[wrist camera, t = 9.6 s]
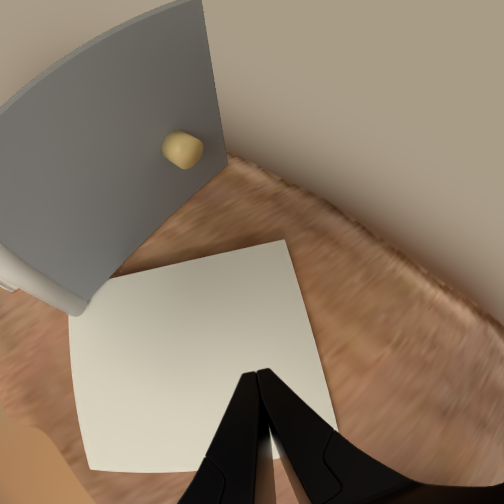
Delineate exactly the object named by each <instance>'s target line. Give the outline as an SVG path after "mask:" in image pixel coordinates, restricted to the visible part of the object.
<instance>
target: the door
mask: <svg viewBox="0 0 504 504" xmlns="http://www.w3.org/2000/svg"><path fill="white" fill-rule="evenodd" d="M227 165H228V161H227V155H226V149H225V143H224V137H223V131H222V125H221V119H220V113H219V106H218V101H217V95H216V88H215V82H214V76H213V70H212V63H211V57H210V51H209V45H208V39H207V32H206V26H205V19H204V12H203V6H202V0H176V1H173V2H171V3H168V4H165V5H163V6H160V7H158V8H155V9H153V10H150V11H148V12H146V13H143V14H141V15H139V16H137V17H134V18H132V19H130V20H128V21H126V22H124V23H122V24H120V25H118V26H116V27H114V28H112V29H110V30H108V31H106V32H104V33H102V34H101V35H99V36H97V37H95V38H94V39H92V40H90V41H88V42H87V43H85V44H84V45H82V46H80V47H79V48H77V49H75V50H74V51H72V52H71V53H69V54H67V55H66V56H64V57H63V58H62V59H60V60H59V61H57V62H56V63H54V64H53V65H51V66H50V67H49V68H47V69H46V70H45V71H43V72H42V73H41V74H39V75H38V76H37V77H35V78H34V79H33V80H32V81H30V82H29V83H28V84H27V85H25V86H24V87H23V88H22V89H20V90H19V91H18V92H17V93H16V94H15V95H14V96H12V97H11V98H10V99H9V100H8V101H7V102H6V103H5V104H4V105H2V106H1V107H0V277H1V278H3V279H5V280H6V281H8V282H10V283H11V284H13V285H15V286H16V287H18V288H20V289H22V290H23V291H25V292H27V293H29V294H31V295H32V296H34V297H36V298H38V299H40V300H42V301H43V302H45V303H47V304H49V305H51V306H53V307H55V308H57V309H59V310H61V311H63V312H65V313H67V314H69V315H71V316H73V317H78V316H80V315H82V314H83V313H84V311H85V309H86V307H87V301H88V300H89V299H90V298H91V297H92V296H93V295H94V294H95V293H96V291H97V290H98V289H99V288H100V287H101V286H102V285H103V284H104V283H105V282H106V281H107V279H108V278H109V277H110V276H111V275H112V274H113V273H114V272H115V271H116V270H117V269H118V268H119V267H120V266H121V265H122V264H123V263H124V262H125V261H126V260H127V259H128V257H129V256H130V255H131V254H132V253H133V252H134V251H135V250H136V249H137V248H138V247H139V246H140V245H141V244H142V243H143V242H144V241H145V240H146V239H147V238H148V237H149V236H150V235H151V234H153V233H154V232H155V231H156V230H157V229H158V228H159V227H160V226H161V225H162V224H163V223H164V222H165V221H166V220H167V219H168V218H169V217H170V216H171V215H172V214H173V213H175V212H176V211H177V210H178V209H179V208H180V207H181V206H182V205H183V204H184V203H185V202H186V201H188V200H189V199H190V198H191V197H192V196H193V195H194V194H195V193H196V192H197V191H199V190H200V189H201V188H202V187H203V186H204V185H205V184H207V183H208V182H209V181H210V180H211V179H212V178H213V177H215V176H216V175H217V174H218V173H219V172H220V171H221V170H223V169H224V168H225V167H226V166H227Z"/></svg>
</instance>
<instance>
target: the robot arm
mask: <svg viewBox="0 0 504 504" xmlns="http://www.w3.org/2000/svg"><path fill="white" fill-rule="evenodd" d="M270 432H271V434H270ZM271 435H272V438H273V441H274V444H275V446H276V449H277V451H278V454H279V456H280V459H281V461H282V464H283V466H284V468H285V471H286V473H287V476H288V478H289V480H290V483H291V485H292V488H293V490H294V492H295V495H296V497H297V499H298V502H299V504H504V483H501V484H498V485H494V486H485V487H468V486H445V485H432V484H425V483H421V482H417V481H414V480H412V479H410V478H408V477H406V476H404V475H402V474H400V473H398V472H396V471H395V470H393V469H391V468H389V467H387V466H386V465H384V464H382V463H381V462H379V461H377V460H375V459H374V458H372V457H370V456H369V455H367V454H366V453H364V452H363V451H361V450H360V449H358V448H357V447H356V446H354V445H353V444H352V443H350V442H349V441H348V440H347V439H345V438H344V437H343V436H342V435H341V434H340V433H339V432H337V431H336V430H334V428H333V427H332V426H330V425H329V424H328V423H327V422H326V421H325V420H324V419H323V418H322V417H321V416H319V415H318V414H317V413H316V412H315V411H314V410H313V409H312V408H311V407H310V406H309V405H308V404H306V403H305V402H304V401H303V400H302V399H301V398H300V397H299V396H298V395H297V394H296V393H295V392H294V391H293V390H292V389H291V388H290V387H289V386H288V385H287V384H286V383H285V382H283V381H282V380H281V379H280V378H279V377H278V376H277V375H276V374H275V373H274V372H273V371H272V370H271V369H270V368H264V369H260V370H257V371H256V372H255V371H250V372H246V373H243V374H242V375H241V377H240V379H239V381H238V384H237V386H236V388H235V390H234V393H233V395H232V397H231V399H230V402H229V404H228V406H227V408H226V411H225V413H224V415H223V417H222V420H221V422H220V424H219V426H218V428H217V430H216V433H215V435H214V437H213V439H212V441H211V443H210V446H209V448H208V450H207V452H206V454H205V457H204V458H203V460H202V462H201V464H200V466H199V468H198V470H197V472H196V474H195V476H194V478H193V480H192V481H191V483H190V485H189V486H188V488H187V489H186V491H185V492H184V494H183V495H182V497H181V498H180V500H179V501H178V502H177V504H276V493H275V480H274V468H273V455H272V442H271Z"/></svg>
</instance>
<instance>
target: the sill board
mask: <svg viewBox="0 0 504 504" xmlns="http://www.w3.org/2000/svg"><path fill="white" fill-rule="evenodd" d="M68 315H69V314H68ZM69 343H70V357H71V369H72V378H73V386H74V394H75V401H76V407H77V413H78V419H79V424H80V429H81V434H82V439H83V443H84V448H85V452H86V456H87V460H88V463H89V467H90V469H92V470H102V471H115V472H140V473H160V472H185V471H197V470H198V468H199V466H200V464H201V462H202V460H203V458H204V457H205V454H206V452H207V450H208V448H209V446H210V443H211V441H212V439H213V437H214V435H215V433H216V430H217V428H218V426H219V424H220V422H221V420H222V417H223V415H224V413H225V411H226V408H227V406H228V404H229V402H230V399H231V397H232V395H233V393H234V390H235V388H236V386H237V384H238V381H239V379H240V377H241V375H242V374H243V373H246V372H250V371H255V372H256V371H257V370H260V369H264V368H270V369H271V370H272V371H273V372H274V373H275V374H276V375H277V376H278V377H279V378H280V379H281V380H282V381H283V382H285V383H286V384H287V385H288V386H289V387H290V388H291V389H292V390H293V391H294V392H295V393H296V394H297V395H298V396H299V397H300V398H301V399H302V400H303V401H304V402H305V403H306V404H308V405H309V406H310V407H311V408H312V409H313V410H314V411H315V412H316V413H317V414H318V415H319V416H321V417H322V418H323V419H324V420H325V421H326V422H327V423H328V424H329V425H330V426H332V427H333V428H334V430H336V431H337V432H338V428H337V424H336V420H335V415H334V412H333V408H332V404H331V400H330V396H329V392H328V388H327V384H326V381H325V377H324V373H323V369H322V366H321V362H320V358H319V355H318V351H317V347H316V344H315V340H314V337H313V333H312V329H311V326H310V322H309V319H308V315H307V312H306V308H305V305H304V302H303V298H302V295H301V291H300V288H299V285H298V281H297V278H296V275H295V271H294V268H293V265H292V262H291V258H290V255H289V252H288V249H287V245H286V242H285V239H283V240H279V241H274V242H270V243H265V244H261V245H256V246H252V247H247V248H243V249H238V250H234V251H230V252H225V253H221V254H216V255H212V256H207V257H203V258H199V259H194V260H190V261H185V262H181V263H177V264H172V265H168V266H164V267H159V268H155V269H150V270H146V271H142V272H137V273H133V274H129V275H124V276H120V277H116V278H111V279H107V281H106V282H105V283H104V284H103V285H102V286H101V287H100V288H99V289H98V290H97V291H96V293H95V294H94V295H93V296H92V297H91V298H90V299H89V300H88V301H87V307H86V309H85V311H84V313H83V314H82V315H80V316H78V317H73V316H71V315H69ZM270 434H271V432H270ZM271 442H272V455H273V459H277V458H280V456H279V454H278V451H277V449H276V446H275V444H274V441H273V438H272V435H271Z"/></svg>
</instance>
